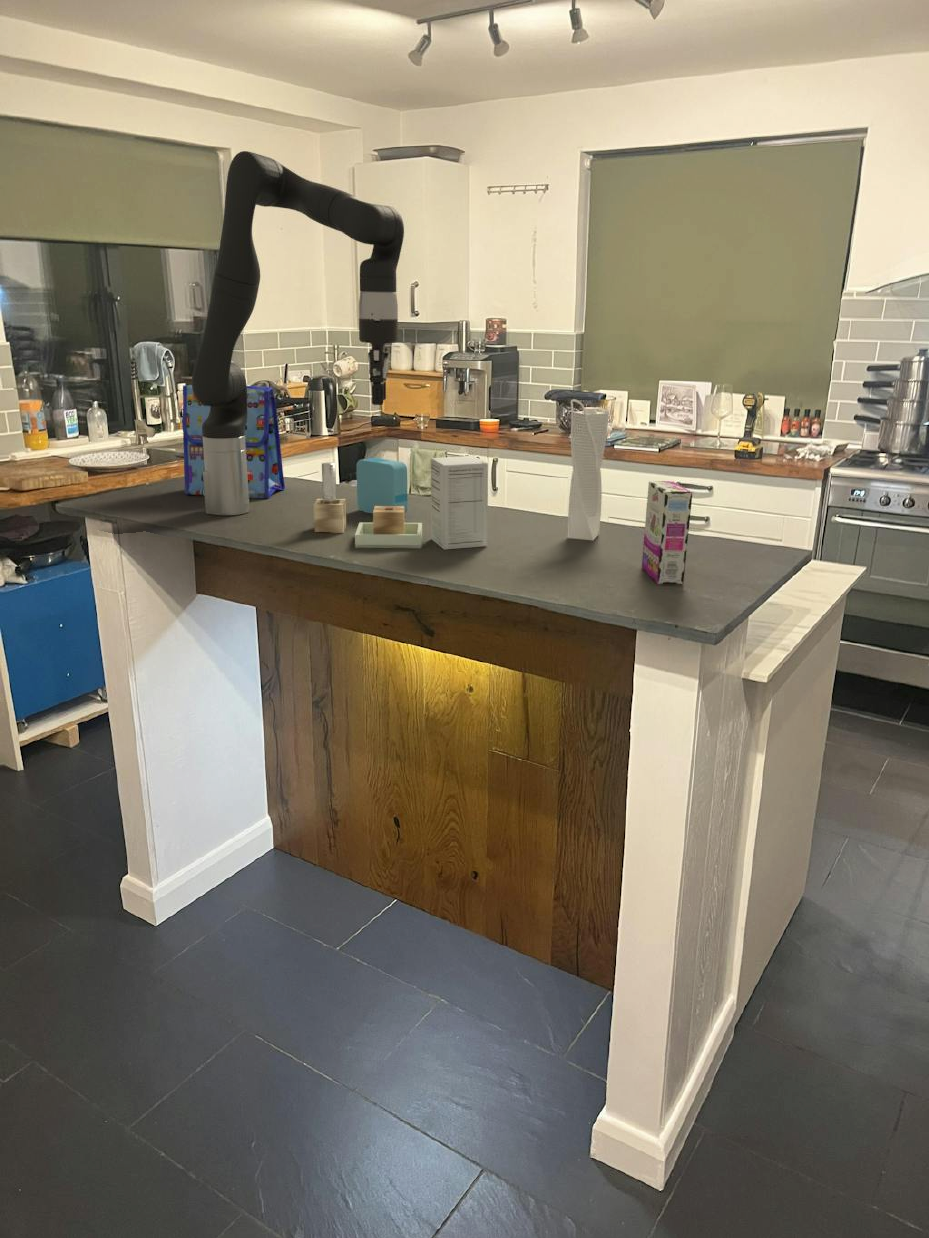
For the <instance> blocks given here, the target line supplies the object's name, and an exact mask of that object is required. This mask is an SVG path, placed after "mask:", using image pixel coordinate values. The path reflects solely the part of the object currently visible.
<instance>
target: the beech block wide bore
mask: <svg viewBox="0 0 929 1238" xmlns="http://www.w3.org/2000/svg"><path fill="white" fill-rule="evenodd" d="M336 500H337V504H323V498H317V499H315V502H314V503H313V520H314V522H313V523H314V533H315V532H330V533H329V534H344V533H345V531H344V530H346V527H347V514H346V513H347V511H346V498H336ZM331 532H332V533H331Z"/></svg>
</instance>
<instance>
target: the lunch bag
mask: <svg viewBox="0 0 929 1238" xmlns="http://www.w3.org/2000/svg"><path fill="white" fill-rule="evenodd" d="M182 401H183V402H182V418H181V419H182V420H181V427H182V434H183V435H182V439H183V440H182V441H183V443H182V444H183V471H184V472H183V473H184V476H183V477H184V494H185V495H187V496H188V495H192V496H204V497H205V494H204V481H203V472H204V471H205V461H204V448H203V436H202V424H203V423H204V421H205V420H206V419H207V418H208V416H209V413H210V406H206V405H203V404H202V403H200V402H199V401H198V400H197V398H196V397H195V395H194V393H193V389H192V384H189V385H185V384H184V385H182ZM277 409H278V408H277V401H276V397H275V393H274V388H273V387H269V386H263V385H262V386H259V385H247V423H246V426H245V445H246V460H247V475H248V491H249V499H270V498H271V496H272V494H274V493H275V492H276V491H277V490H279V491H285V490H286V486H285V479H284V469H283V467H284V466H283V460H282V459H283V458H282V450H281V447H282V446H281V439H280V438H281V437H280V430H279V429H280V428H279V419H278V411H277Z"/></svg>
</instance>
